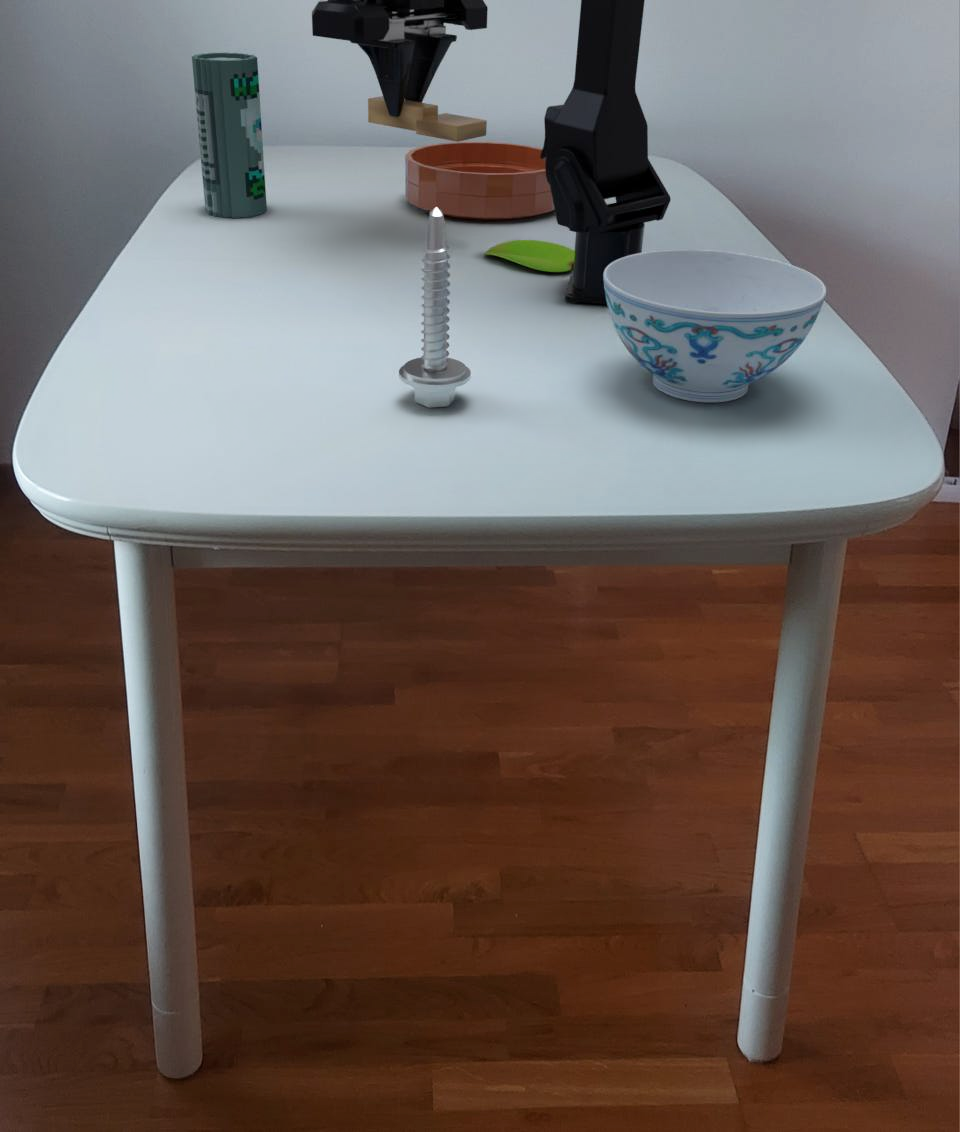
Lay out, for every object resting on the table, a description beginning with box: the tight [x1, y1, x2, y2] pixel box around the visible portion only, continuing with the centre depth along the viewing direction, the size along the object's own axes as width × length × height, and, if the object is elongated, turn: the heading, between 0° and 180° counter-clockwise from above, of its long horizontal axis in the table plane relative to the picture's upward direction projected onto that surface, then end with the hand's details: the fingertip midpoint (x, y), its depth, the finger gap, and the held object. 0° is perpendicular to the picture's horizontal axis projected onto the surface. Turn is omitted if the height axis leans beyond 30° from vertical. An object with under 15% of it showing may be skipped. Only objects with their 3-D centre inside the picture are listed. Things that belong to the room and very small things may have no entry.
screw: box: [398, 207, 472, 409], centre depth 77 cm, size 13×5×5 cm
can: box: [191, 52, 268, 219], centre depth 120 cm, size 6×6×15 cm
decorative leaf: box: [483, 239, 575, 273], centre depth 110 cm, size 8×9×1 cm
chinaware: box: [603, 248, 827, 404], centre depth 82 cm, size 15×15×8 cm
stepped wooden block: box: [367, 95, 488, 142], centre depth 111 cm, size 12×4×2 cm, turn 52°
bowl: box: [404, 141, 555, 221], centre depth 128 cm, size 17×17×5 cm
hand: (403, 114), depth 113 cm, fingers closed on stepped wooden block, 2 cm apart
